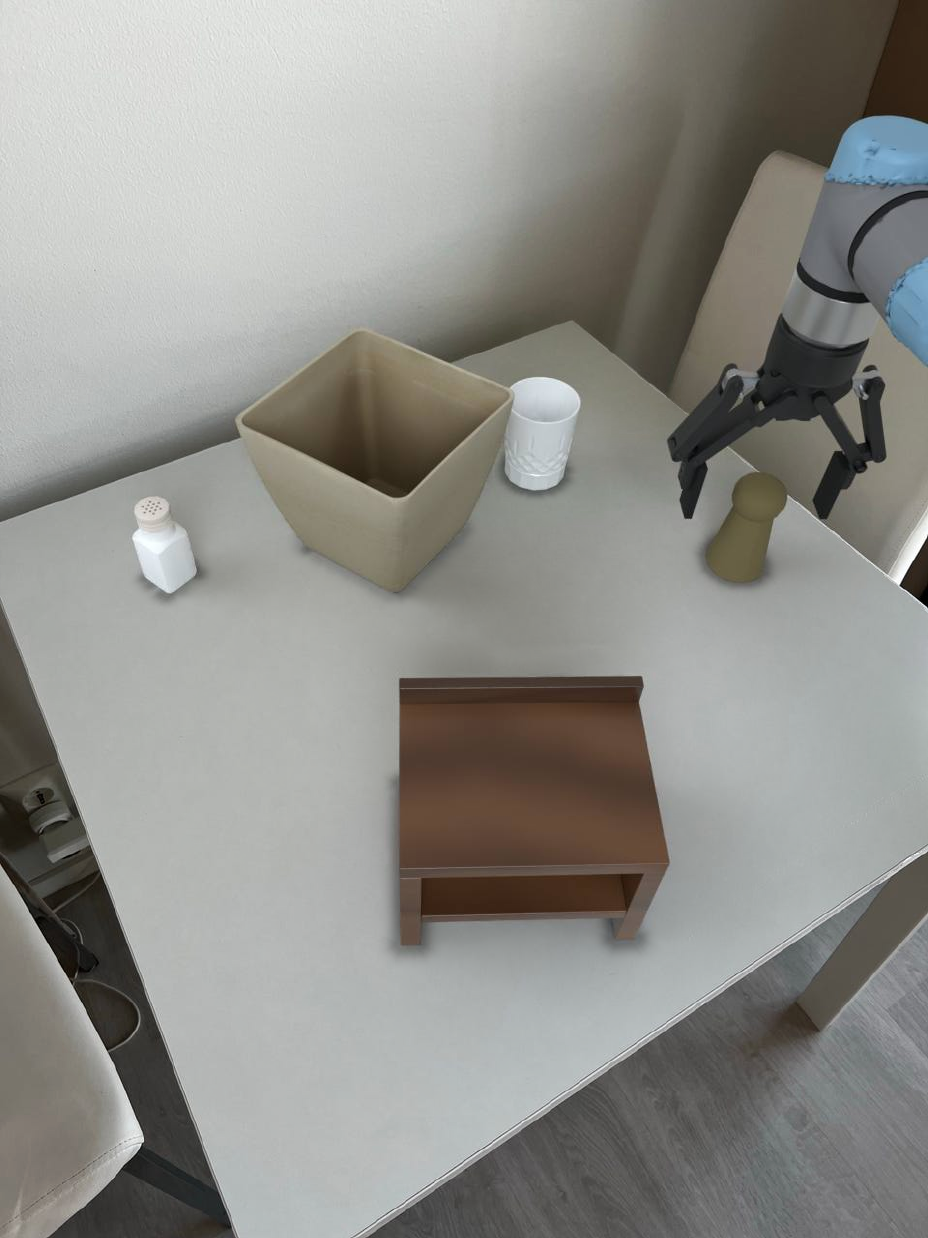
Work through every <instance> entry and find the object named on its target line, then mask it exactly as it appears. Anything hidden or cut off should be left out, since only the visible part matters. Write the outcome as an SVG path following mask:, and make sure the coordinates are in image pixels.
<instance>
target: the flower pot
mask: <svg viewBox="0 0 928 1238" xmlns="http://www.w3.org/2000/svg"><path fill="white" fill-rule="evenodd" d="M514 397H515V393H514V391H513V390H512V389H510V387H508V386H505V385H503V384H500V383H499V382H496V381H493V380H491V379H488V378H485V377H483V376H481V375H478V374H476V373H474V372H472V371H469V370H466V369H465V368H462V367H459V366H457V365H454V364H452V363H450V362H448V361H446V360H443V359H440V358H438V357H436V356H434V355H431V354H430V353H426V352H424V351H422V350H419V349H417V348H415V347H413V346H410V345H408V344H406V343H404V342H401V341H398V340H397V339H394V338H393V337H390V336H387V335H385V334H382V333H380V332H377V331H376V330H374V329H371V328H369V327H363V326H362V327H361V326H360V327H355V328H353V329H352V330H350V331H349V332H347V333H346V334H345V335H343V336H342V337H340V338H339V339H338V340H337V341H335V342H334V343H332V344H331V345H330V346H329V347H327V348H326V349H324V350H323V351H322V352H320V353H319V354H318V355H316V356H315V357H314V358H313V359H311V360H310V361H308V362H307V363H306V364H304V365H303V366H301V367H300V368H299V369H298V370H297V371H295V372H294V373H292V374H291V375H289V377H287V378H285V379H284V380H283V381H281V382H280V383H279V384H278V385H276V386H275V387H273V388H272V389H271V390H269V391H268V392H267V393H266V394H264V395H263V396H262V397H260V398H259V399H258V400H256V401H255V402H254V403H252V404H251V405H249V406H248V407H247V408H246V409H244V410H242V411H241V412H240V413H239V414H237V416H236V417H235V420H234V421H235V424H236V425H235V426H236V427H237V429H238V433H239V436H240V438H241V441H242V443H243V446H244V447H245V450H246V451H247V454H248V456H249V458H250V461H251V463H252V465H253V467H254V469H255V471H256V472H257V475H258V477H259V478H260V480H261V482H262V484H263V486H264V488H265V489H266V491H267V494H268V496H270V498H271V500H272V501H273V503H274V505H275V506H276V508H277V509H278V511H279V512H280V514H281V515H282V517H283V518H284V520H285V521H286V523H287V524H288V526H289V527H290V529H291V530H292V531H293V533H294V534H295V535H296V537H297V538H298V539H299V540H300V542H301V543H302V545H303V546H304V547H306V548H308V549H310V550H312V551H313V552H316V553H317V554H319V555H321V556H323V557H325V558H326V559H328V560H330V561H332V562H334V563H336V564H337V565H339V566H341V567H343V568H345V569H347V570H348V571H350V572H353V573H354V574H355V575H358V576H360V577H362V579H365V580H367V581H369V582H371V583H373V584H374V585H376V586H379V588H380V587H381V588H382V589H384V590H386V591H388V592H391V593H399V592H401V591H403V590H404V589H405V588H406V587H407V586H408V585H409V584H410V583H411V582H412V581H413V580H414V579H415V578H416V577H417V576H418V575H419V574H420V573H421V571H422V570H423V569H424V568H426V567H427V566H428V564H429V563H430V562H432V561H433V559H434V558H436V556H437V555H438V554H439V553H440V552H441V551H443V549H444V548H445V547H446V546H447V545H448V544H449V543H450V542H451V541H452V540H453V538H454V537H455V536H457V535H458V534H459V533H460V532H461V530H462V529H463V528H464V527H465V525H466V523H467V522H468V520H469V518H470V516H471V515H472V512H473V510H474V509H475V507H476V505H477V502H478V500H479V499H480V497H481V494H482V492H483V489H484V488H485V485H486V483H487V481H488V479H489V477H490V474H491V472H492V470H493V466H494V464H495V462H496V460H497V457H498V454H499V451H500V448H501V445H502V443H503V440H504V438H505V430H506V427H507V424H508V420H509V417H510V413H511V409H512V406H513V401H514Z"/></svg>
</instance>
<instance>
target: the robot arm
mask: <svg viewBox="0 0 928 1238" xmlns="http://www.w3.org/2000/svg"><path fill="white" fill-rule="evenodd" d="M880 319H882V320H883V321H884V322H885V324H886V325H887V327H888V328H889V330H890V333H891V334H892V335H893V337H894V338H895V339H896V341H897V342H898V343H901V344H902V345H903V347H905V348H907V349H908V350H909V351H910V352H911V353H912V354H913V355H914V356H915V357H916V358H917V359H918V361H920V362H921V364H922V365H924V366H925V367H927V368H928V123H925V122H924V121H923V122H922V121H920V120H917V119H914V118H909V117H905V116H899V115H898V116H897V115H873V116H868V117H865V118H862V119H859V120H857V121H855V122H854V123H852V124H850V126H849V127H848V128H847V129H846V130H845V132H843V134H842V137H841V138H840V142H839V144H838V147H837V149H836V151H835V154H834V156H833V160H832V162H831V165H830V167H829V169H828V171H826V172H825V173H824V177H823V183H822V186H821V189H820V192H819V195H818V198H817V201H816V205H815V207H814V210H813V212H812V217H811V219H810V222H809V226H808V229H807V232H806V234H805V238H804V241H803V244H802V247H801V250H800V253H799V258H798V260H797V263H796V264H795V268H794V271H793V274H792V276H791V279H790V282H789V285H788V288H787V291H786V294H785V297H784V299H783V302H782V305H781V313H780V314H779V315H778V317H777V320H776V322H775V326H774V329H773V332H772V334H771V337H770V340H769V343H768V346H767V349H766V353H765V358H764V361H763V363H762V364H761V366H760V367H759V368H758V369H757V370H756V371H749V370H748V371H747V370H740V369H739V368H738V365H737V363H734V362H733V363H728V364H726V365H725V366H724V367H723V370H722V372H721V375H720V377H719V378H718V381H717V384H715V386H713V388H712V389H711V390H710V391H709V392H708V393H707V394H706V396H705V397H704V398H703V399H702V400H701V401H700V402H699V403H698V404H697V405H696V406H695V407H694V409H693V410H692V411H691V412H690V413H689V414H687V415H688V416H686V417H685V419H684V420H683V421H682V422H681V423H680V424H679V425H678V427H677V428H675V429H674V431H673V432H672V433H671V434H670V435H669V436H668V437H667V439H666V443H667V448H668V451H669V455H670V458H671V460H672V462H674V463H679V462H680V466H679V469H678V473H677V479H678V482H679V487H680V489H681V493H680V496H679V500H678V501H679V504H680V508H681V512H682V516H683V519H684V520H692V519H693V517H694V513H695V511H696V508H697V506H698V505H697V504H698V501H699V498H700V496H701V492H702V490H703V487H704V483H705V480H706V476H707V475H708V474H707V473H708V470H709V468H708V465H707V462H708V461H709V460H710V459H711V458H713V457H714V456H716V455H718V453H720V452H721V451H723V450H724V449H725V448H727V447H729V446H730V445H731V444H733V443H734V442H736V441H737V440H739V439H740V438H741V437H743V436H744V435H745V434H747V433H749V432H750V431H751V430H753V429H755V428H762V427H764V426H765V425H767V424H768V423H769V422H771V421H772V420H773V419H775V422H786V421H787V422H788V421H791V420H796V421H801V422H811V420H812V419H814V418H817V417H819V416H820V418H821V419H822V421H823V422H824V424H825V425H826V427H827V429H828V430H829V431H830V432H831V434H832V436H833V437H834V440H835V441H836V443H837V444H838V446H839V447H840V449H841V450H834V451H833V453H832V456H831V458H830V460H829V462H828V464H827V467H826V468H825V471H824V473H823V476H822V478H821V479H820V482H819V484H818V486H817V489H816V490H815V493H814V495H813V497H812V500H811V501H812V503H813V507H814V509H815V512H816V513H817V516H818V519H819V520H828V518H829V516H830V514H831V512H832V510H833V508H834V506H835V503H836V501H837V499H838V497H839V495H840V493H841V491H845V490H846V491H847V490H848V489H849V488H850V487H851V486H852V484H853V481H854V479H855V478H856V475H857V474H858V475H861V474H863V473H866V472H867V470H868V464H867V463H869V462H873V463H875V464H880V463H882V462H884V461H885V460H887V449H886V440H885V433H884V424H883V423H884V422H883V417H882V408H881V400H882V397H883V395H884V392H885V389H886V383H885V381H884V379H883V377H882V375H881V372H880V371H879V369H878V367H877V366H876V365H875V364H869V365H866V366H865V367H864V368H863V370H862V371H861V372H857V370H858V369H859V366H860V363H861V361H862V359H863V357H864V354H865V353H866V350H867V347H868V345H869V342H870V337H871V336H872V335H873V334H874V333H875V330H876V328H877V325H878V323H879V321H880ZM749 390H751V391H749ZM852 390H853V391H854V393H855V396H856V397H857V398H858V403H859V410H860V417H861V423H862V432H863V437H864V441H863V442H860V443H857V441H856V439H855V437H854V436H853V434H852V432H851V430H850V429H849V427H848V425H847V423H846V422H845V420H844V419H843V417H842V414H841V413H840V412H839V409H838V408H837V407H836V405H835V404H836V403H838V402H839V401H840V400H842V399H843V398H844V397H846V396H847V395H848V394H849V393H850V392H851V391H852ZM748 391H749V392H748ZM747 392H748V393H747ZM746 393H747V394H746ZM738 400H741V402H740V403H739V404H737V405H736V403H737V401H738ZM760 402H761V404H762V405H763V408H762V409H760V406H759V405H760ZM735 405H736V406H735ZM734 406H735V407H734Z"/></svg>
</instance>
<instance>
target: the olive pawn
mask: <svg viewBox="0 0 928 1238" xmlns="http://www.w3.org/2000/svg"><path fill="white" fill-rule="evenodd" d="M787 501H788V492H787V488H786V486H785V484H784V483H783V481H782V480H781V479H779V477H777V476H775V475H773V474H771V473H768V472H764V471H751V472H748V473H746V474H744V475H743V476H740V478H739V479H738V480H737V481H736V482H735V484H734V486H733V488H732V492H731V503H732V506H731V507H730V509H729V511H728V513H727V514H726V516H725V518H724V520H723V522H722V523H721V525H720V527H719V529H718V531H717V532H716V533H715V536H714V538H713V540H712V542H711V543H710V545H709V547H708V549H707V551H706V554H705V562H706V565H707V566H708V568H709V569H710V571H712V572H713V573H714V574H715V575H716V576H717V577H720V578H721V579H723V580H726V581H728V582H732V583H740V584H741V583H742V584H744V583H749V582H752V581H755V580H756V579H758V578H759V577H760V576H761V574H762V573H763V570H764V565H765V562H766V558H767V557H766V556H767V551H768V547H769V542H770V539H771V534H772V529H773V525H774V521H775V519H776V518H778V516H780V514H782V512H783V511H784V510H785V507H786V506H787Z"/></svg>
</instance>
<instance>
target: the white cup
mask: <svg viewBox="0 0 928 1238" xmlns="http://www.w3.org/2000/svg"><path fill="white" fill-rule="evenodd" d="M509 388H510V389H512V390H513V391H514V393H515V397H514V401H513V406H512V409H511V413H510V417H509V420H508V424H507V427H506V430H505V433H504V437H503V440H504V448H503V449H504V452H505V453H504V459H505V460H504V473H505V475H506V476H507V478H508V480H509V481H510V482H511V483H513V484H514V485H515V486H517V487H519V488H521V489H524V490H529V491H544V490H545V491H547V490H549V489H551V488H553V487H556V486H557V485H559V483H560V482H561V481H562V479H563V478H564V476H565V471H566V466H567V462H568V458H569V456H570V453H571V448H572V444H573V441H574V437H575V433H576V429H577V428H576V427H577V423H578V420H579V419H578V418H579V414H580V409H581V404H582V403H581V402H582V401H581V396H580V395H579V394H578V392H577V391H576V389H575V388H574V387H573V386H571V385H570V384H568V383H567V382H564V381H562V380H559V379H557V378H552V377H546V376H532V377H527V378H524V379H523V378H522V379H520V380H519V381H517V382H515V383H514V384H512V385H511V386H510V387H509Z"/></svg>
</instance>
